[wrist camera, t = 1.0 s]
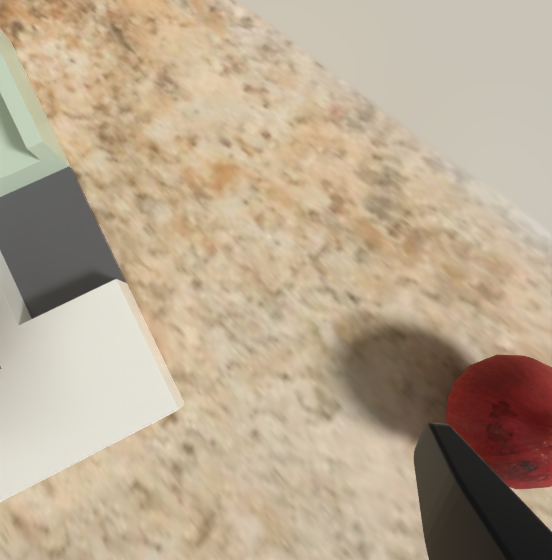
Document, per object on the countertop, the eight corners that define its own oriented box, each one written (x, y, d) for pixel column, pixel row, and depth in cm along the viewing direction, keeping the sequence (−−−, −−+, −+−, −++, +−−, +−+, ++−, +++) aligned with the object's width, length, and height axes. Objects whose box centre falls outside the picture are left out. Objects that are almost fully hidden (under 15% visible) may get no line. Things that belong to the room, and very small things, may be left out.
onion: (477, 486, 24) (587, 560, 16) (399, 407, 25) (471, 442, 17) (548, 406, 25) (686, 440, 17) (472, 330, 25) (573, 328, 17)
